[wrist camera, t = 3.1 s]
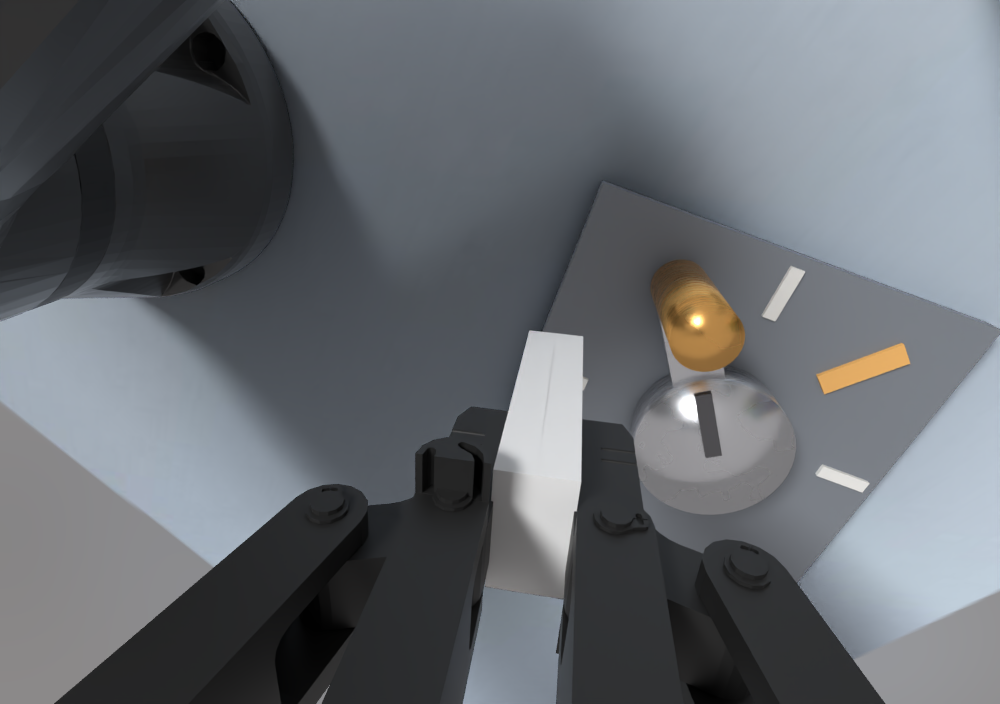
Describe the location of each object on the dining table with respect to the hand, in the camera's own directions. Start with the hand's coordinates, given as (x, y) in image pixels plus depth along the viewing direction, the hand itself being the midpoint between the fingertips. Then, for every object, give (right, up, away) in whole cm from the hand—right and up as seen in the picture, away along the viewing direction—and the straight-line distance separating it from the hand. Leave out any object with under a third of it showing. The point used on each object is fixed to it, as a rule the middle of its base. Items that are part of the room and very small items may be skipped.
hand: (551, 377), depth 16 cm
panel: (+9, -3, +12) cm, 15 cm away
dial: (+8, -1, +10) cm, 13 cm away
